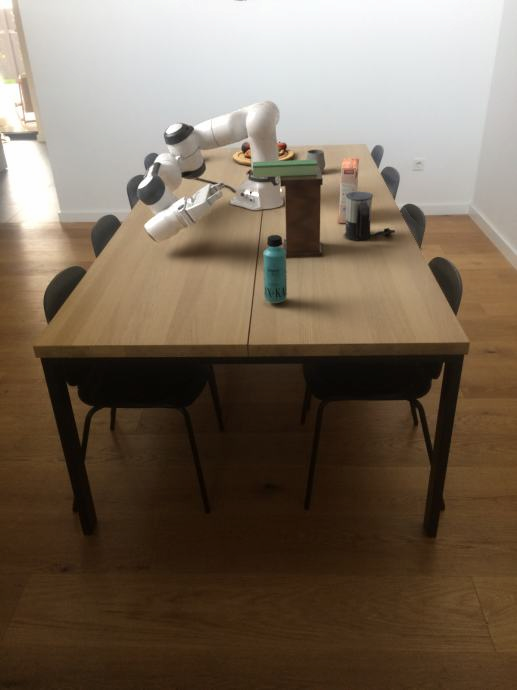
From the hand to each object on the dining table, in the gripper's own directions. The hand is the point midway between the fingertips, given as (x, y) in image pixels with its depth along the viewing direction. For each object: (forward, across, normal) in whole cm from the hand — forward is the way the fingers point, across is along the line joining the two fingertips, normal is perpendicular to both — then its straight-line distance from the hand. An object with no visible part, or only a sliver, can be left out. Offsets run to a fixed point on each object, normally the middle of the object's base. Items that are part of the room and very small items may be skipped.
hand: (222, 188), depth 186 cm
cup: (+20, -92, -37) cm, 101 cm away
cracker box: (+27, -30, -42) cm, 58 cm away
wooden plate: (-2, -122, -25) cm, 124 cm away
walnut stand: (+11, 0, -32) cm, 34 cm away
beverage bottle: (+3, +38, -28) cm, 47 cm away
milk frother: (+32, -10, -44) cm, 55 cm away
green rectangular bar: (+19, 0, -7) cm, 20 cm away
